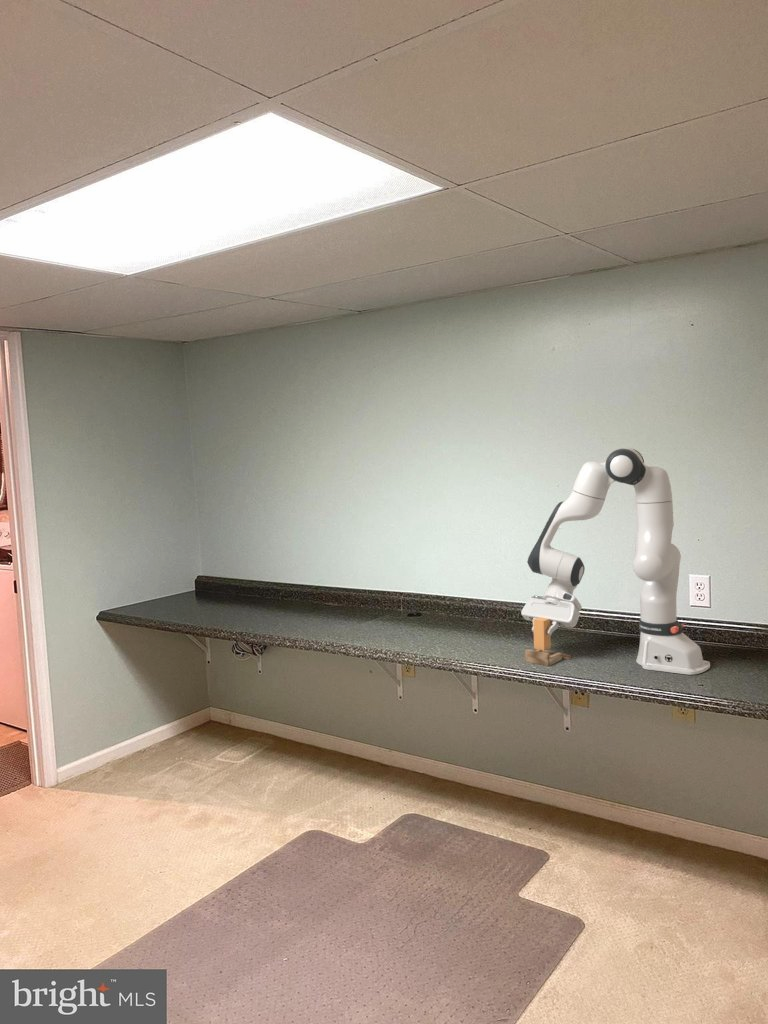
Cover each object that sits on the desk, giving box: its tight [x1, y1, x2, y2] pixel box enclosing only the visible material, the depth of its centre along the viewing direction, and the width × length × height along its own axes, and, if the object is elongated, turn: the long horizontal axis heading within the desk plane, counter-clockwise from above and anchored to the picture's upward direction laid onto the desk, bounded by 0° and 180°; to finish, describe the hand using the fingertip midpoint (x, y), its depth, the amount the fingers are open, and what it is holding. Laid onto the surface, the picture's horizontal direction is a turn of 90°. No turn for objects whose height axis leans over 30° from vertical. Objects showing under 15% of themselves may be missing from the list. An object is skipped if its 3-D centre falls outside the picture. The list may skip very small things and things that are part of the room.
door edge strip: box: [542, 649, 572, 661], centre depth 265 cm, size 12×2×1 cm, turn 45°
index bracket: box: [524, 648, 563, 667], centre depth 261 cm, size 9×8×4 cm
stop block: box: [532, 617, 552, 650], centre depth 260 cm, size 4×4×10 cm
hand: (541, 632), depth 260 cm, fingers closed on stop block, 4 cm apart
